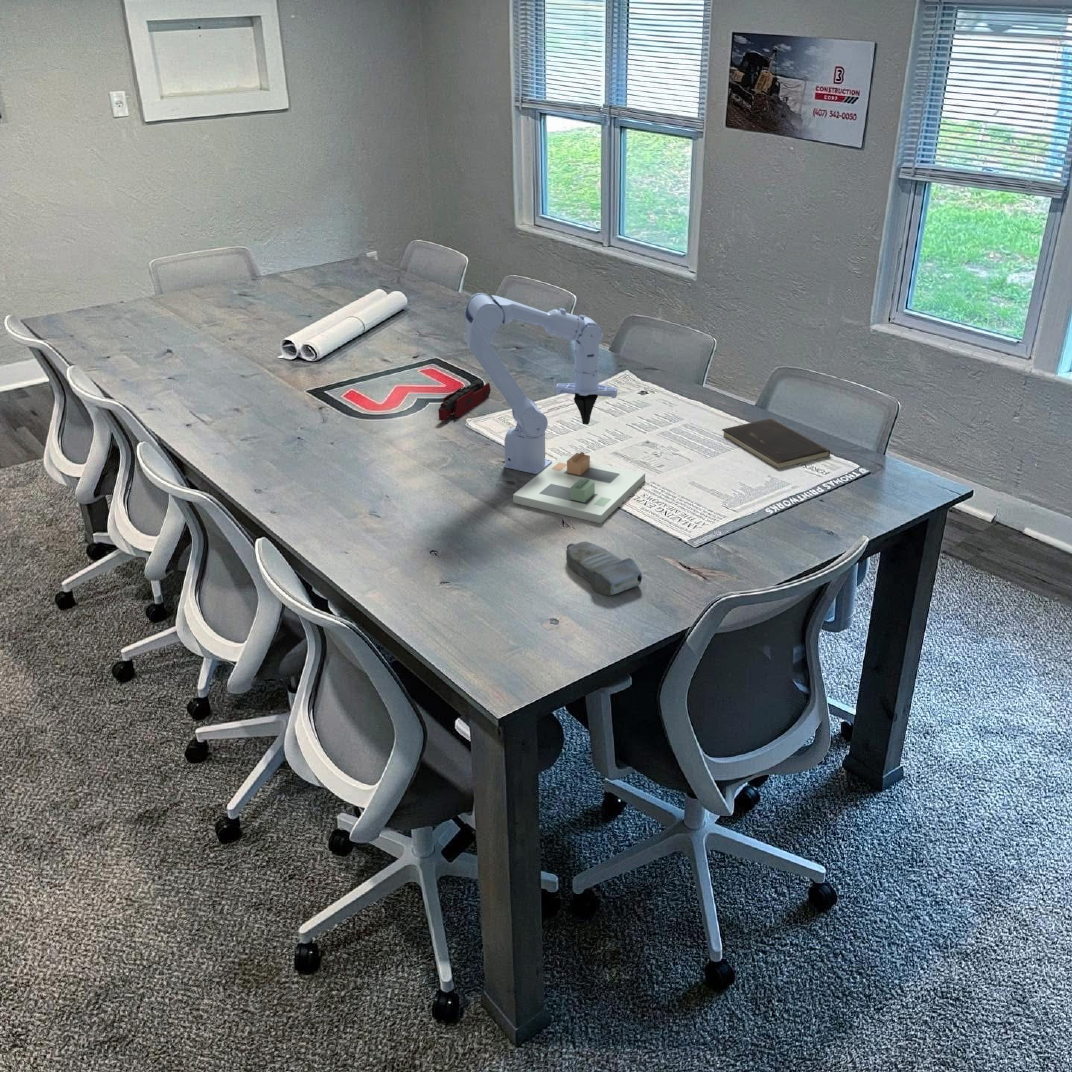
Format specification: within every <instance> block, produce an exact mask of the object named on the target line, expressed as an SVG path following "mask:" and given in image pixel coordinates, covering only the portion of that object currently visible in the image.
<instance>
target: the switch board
mask: <svg viewBox="0 0 1072 1072" xmlns="http://www.w3.org/2000/svg"><path fill="white" fill-rule="evenodd" d="M571 457H572V456H566V455H563V454H562V455H560V457H558V458H557V459H555V460H554V461H552V463H551V464H550V465H548V466H547V467H546V468H545V469H543V470H542V471H541V472H540V473H538V474H536V476H535V477H533V478H532V479H530V480H529V481H528V482H527V483H525V484H524V485H523V486H522V487H521V488H520V489H518V490H516V492H514V493H513V494H512V502H513V504H517V505H518V504H519V505H523V506H526V507H531V508H535V509H539V510H543V511H547V512H551V513H556V514H560V515H564V516H569V517H572V518H577V519H581V520H584V521H589V522H593V523H598V524H602V523H603V522H604V521H605V520H606V519H607V518H608V517H609V516H610V515H611V514H612V513H614V511H615V510H617V508H618V507H619V506H620V505H622V502H623V503H624V502H625V501H626V500H627V499H628V498H629V497H630V496H631V495H632V494H633V493H634V492H635V491H636V490H637V489H638V488H639V487H640V486H641V485H642V484H643V483H644V482H646V472H643V471H642V472H641V471H637V470H633V469H628V468H625V467H620V466H616V465H615V466H613V465H608V464H604V463H600V462H595V461H590V467H589V468H588V469H587V470H586V471H585V472H584V473H582V474H581V475H576V474H571V473H567V460H569V459H570V458H571ZM585 478H589V480H590V481H594V482H595V494H594V495H592V496H591V497H590V498H589V499H588V500H587V501H586V502H585V503H584V502H580V501H576V500H571V486H573V485H574V484H575V483H576V482H577V481H578V480H580V479H585ZM624 500H625V501H624Z"/></svg>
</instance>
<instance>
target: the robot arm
mask: <svg viewBox="0 0 1072 1072" xmlns="http://www.w3.org/2000/svg"><path fill="white" fill-rule="evenodd" d="M463 315H464V319H465V320H464V321H465V339H466V342H465V343H466V345H467V346H466V347H467V348H468V349H469V350H470V351H471V353H472V355H473V356H474V357H475V359H476V360H477V362H478V363H479V365H480V366H481V367H482V369H483V370H484V371H485V373H486V374H487V376H488V377H489V379H490V380H491V382H493V384H494V385H495V387H496V389H498V391H499V392H500V395H502V397H503V398H504V399H505V401H506V402H507V404H508V405H509V407H510V409H511V413H512V417H513V419H514V421H515V422H516V426H515V427H510V428H509V429H508V430H507V431H506V433H505V437H504V464H503V467H504V468H506V469H511V470H515V471H520V472H525V473H529V474H534V475H538V474H539V473H541V472H542V471H543V470H544V469H546V468H547V467H548V466H549V465H551V464H552V463H553V460H551V459H546V430H547V428H548V425H549V424H548V418H547V416H546V415H545V414H544V413H543V412H542V410H540V409H539V407H538V405H537V404H536V402H535V401H533V400H532V399H529V398H528V396H526V394H525V392H524V391H523V389H522V388H521V387H520V385H519V384H518V382H517V381H516V379H515V378H514V376H513V375H512V373H511V372H510V370H508V367H507V366H506V365H505V364H504V361H502V360H501V359H502V358H500V357H499V355H498V354H497V352H496V351H495V348H493V346H492V344H491V343H492V341H493V338H494V336H495V334H496V333H497V332H498V330H499V328H500V327H501V325H502V324H503V325H504V326H506V325H508V324H510V323H511V322H512V321H519V322H524V323H528V324H531V325H536V326H539V327H543V328H544V330H545V332H546V333H547V334H548V335H551V336H554V337H559V338H562V339H565V340H568V341H574V382H571V383H570V382H569V383H560V382H559V383H557V384H556V386H555V394H557V395H561V394H571V395H574V398H573V401H574V403H575V405H576V407H577V408H578V412H579V414H580V417H581V422H582V423H581V424H582V425H589V424H590V422H591V420H590V419H591V416H592V411H593V409H594V406H595V404H596V402H597V400H598V397H611V399H616V398H617V396H618V387H613V386H612V387H611V386H608V385H603V384H599V380H600V379H599V378H600V377H599V375H600V373H599V372H600V344H601V343H602V341H603V339H604V333H603V331H602V328H601V327H600V325H599V324H598V323H596V322H595V320H593V319H592V318H590V317H589V316H587V315H583V314H579V315H575V314H572V313H569V312H567V310H566V309H565V308H561V307H559V310H558V309H556V308H553V309H551V310H549V311H548V312H546V311H544V310H540V309H538V308H535V307H532V306H529V305H526V304H523V303H520V302H518V301H514V300H511V299H509V298H505V297H502V296H499V295H494V294H493V295H492V294H491V296H490V295H489V294H487V293H485V292H477V293H475V294H472V296H470V297H469V298H468V301H467V303H466V307H465V309H464V311H463Z"/></svg>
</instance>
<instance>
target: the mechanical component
mask: <svg viewBox="0 0 1072 1072" xmlns="http://www.w3.org/2000/svg"><path fill="white" fill-rule="evenodd" d="M483 382H484V380H483V379H474V381H472V382H471V383H470V384H468V385H467V386H463V387H462V388H461V387H459V388H457V389H456V390H455V391H454V392H452V393H449V394H447V395H446V396H445V397H444V398H443V401H442V403H441V404H440V407H439V408H438V420H439V421H442V422H445V421H447V420H448V418H451V417H452V414H453V415H454V418H458V417H462V416H464V415H465V414H466V413H468V412H470V411H471V410H472V409H474V408H475V407H476V406H478V405H480V404H482V403H483V402H484V401H486V400H487V399H488V398H489V397H490V394H491V391H492V389H491V383H490V382H487V383H486V384H484V383H483Z"/></svg>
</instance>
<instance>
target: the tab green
mask: <svg viewBox="0 0 1072 1072" xmlns="http://www.w3.org/2000/svg"><path fill="white" fill-rule="evenodd" d="M594 494H595V482H594V481H590V480H589V478H585V479H580V480H578V481H577V482H576V483H575V484H574V485H573V486H571V500H576V501H580V502H584V503H585V502H586V501H587V500H588V499H589V498H590V497H591V496H592V495H594Z"/></svg>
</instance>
